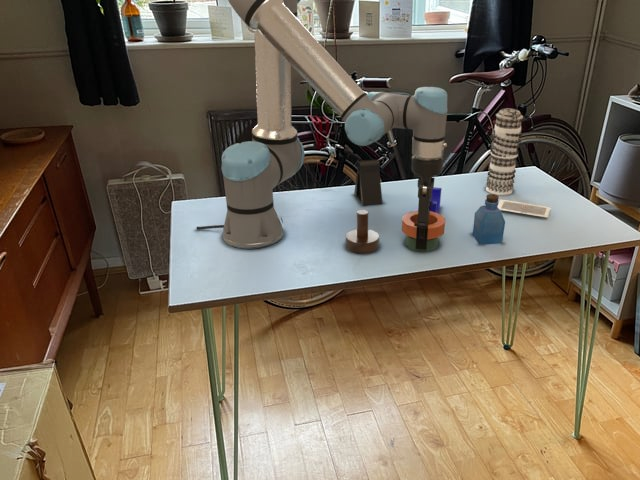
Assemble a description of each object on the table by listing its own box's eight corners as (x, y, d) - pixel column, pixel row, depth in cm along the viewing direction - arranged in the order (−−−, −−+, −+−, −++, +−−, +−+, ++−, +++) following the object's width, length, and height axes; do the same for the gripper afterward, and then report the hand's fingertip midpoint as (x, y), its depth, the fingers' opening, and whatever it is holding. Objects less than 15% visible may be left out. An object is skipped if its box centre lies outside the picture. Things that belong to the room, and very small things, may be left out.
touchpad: (499, 202, 176) (500, 195, 175) (550, 210, 172) (551, 203, 171) (494, 212, 170) (495, 205, 168) (547, 220, 165) (548, 213, 164)
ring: (400, 237, 145) (400, 226, 143) (403, 219, 154) (404, 209, 152) (443, 240, 144) (444, 229, 142) (444, 222, 153) (445, 212, 151)
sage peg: (404, 250, 148) (406, 215, 143) (407, 235, 155) (408, 202, 150) (437, 252, 147) (440, 218, 142) (438, 238, 154) (441, 204, 149)
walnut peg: (343, 252, 146) (342, 217, 141) (349, 237, 153) (348, 204, 148) (376, 255, 145) (377, 220, 140) (380, 240, 152) (381, 206, 147)
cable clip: (424, 205, 172) (426, 186, 169) (439, 207, 172) (441, 188, 169) (418, 222, 162) (419, 202, 159) (434, 223, 162) (436, 203, 159)
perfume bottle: (502, 243, 152) (508, 200, 146) (479, 244, 152) (484, 201, 145) (494, 233, 158) (500, 191, 151) (472, 234, 157) (477, 192, 151)
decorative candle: (516, 187, 187) (529, 108, 174) (510, 197, 180) (522, 115, 167) (489, 182, 190) (499, 104, 177) (481, 192, 183) (491, 111, 170)
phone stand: (354, 194, 178) (354, 156, 172) (372, 192, 180) (373, 155, 174) (363, 205, 171) (363, 166, 165) (382, 203, 173) (383, 164, 167)
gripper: (441, 173, 129) (434, 261, 140) (444, 142, 148) (438, 221, 160) (407, 171, 129) (403, 258, 141) (415, 140, 149) (411, 219, 160)
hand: (422, 238), depth 150 cm, fingers closed on ring, 11 cm apart
